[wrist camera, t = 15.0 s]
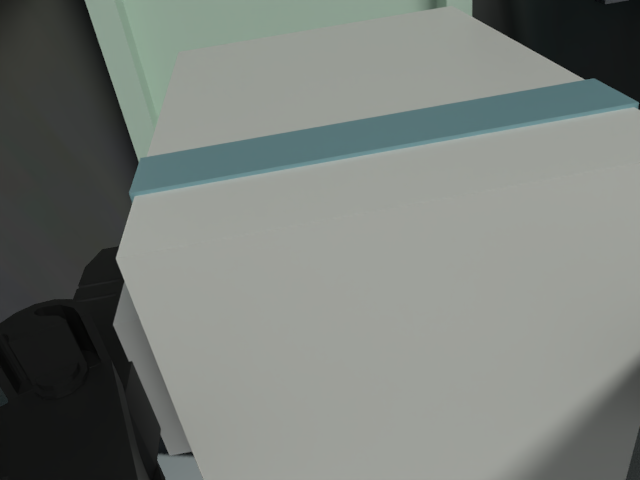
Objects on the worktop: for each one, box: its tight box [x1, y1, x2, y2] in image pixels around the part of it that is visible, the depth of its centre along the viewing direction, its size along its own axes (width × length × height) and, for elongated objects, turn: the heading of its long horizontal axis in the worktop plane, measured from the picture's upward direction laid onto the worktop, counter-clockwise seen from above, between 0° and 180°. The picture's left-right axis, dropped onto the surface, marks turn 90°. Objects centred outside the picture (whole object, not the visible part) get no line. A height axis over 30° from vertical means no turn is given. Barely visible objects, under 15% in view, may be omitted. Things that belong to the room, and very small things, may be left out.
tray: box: [85, 0, 472, 161], centre depth 23 cm, size 14×14×2 cm
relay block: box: [116, 6, 640, 480], centre depth 11 cm, size 6×6×8 cm
